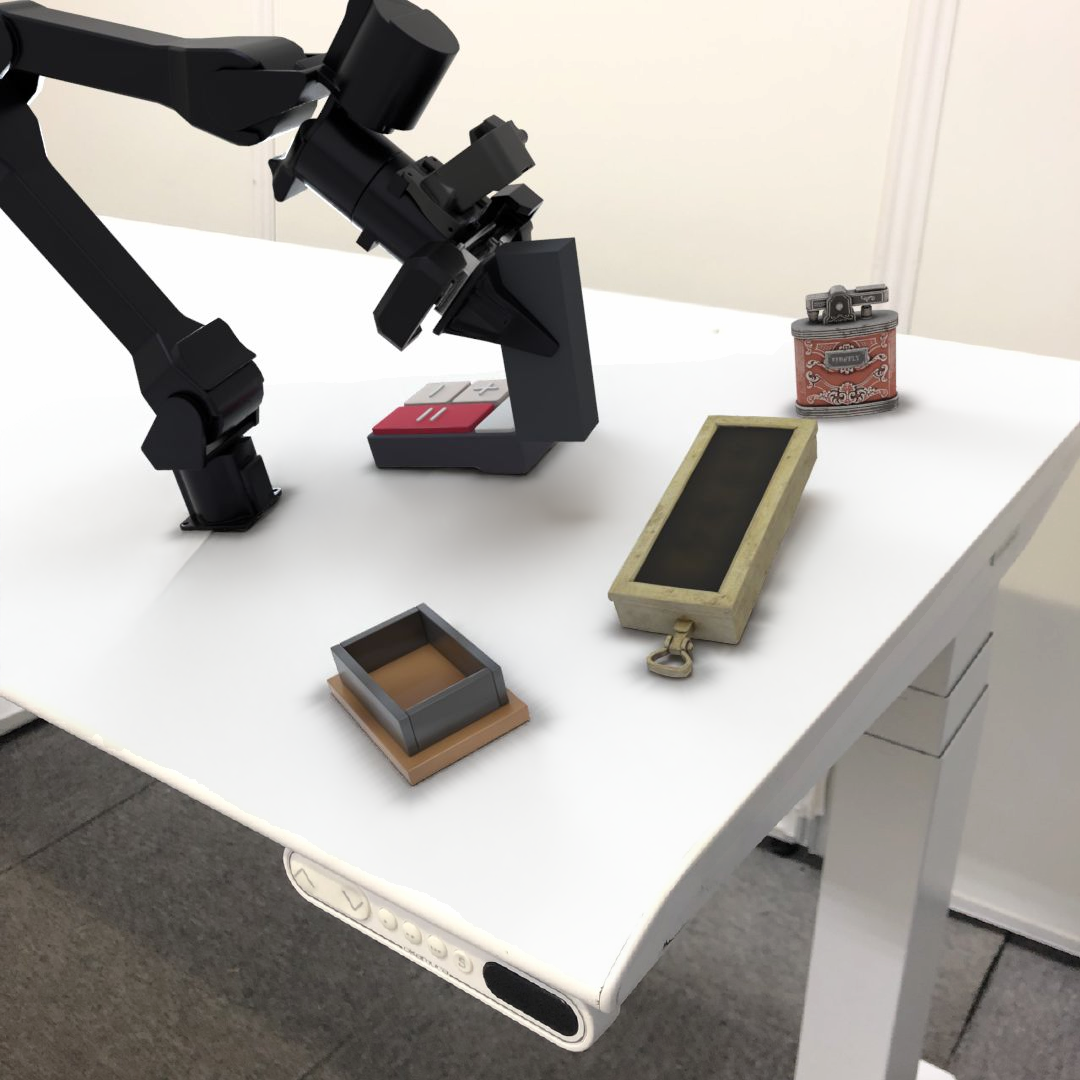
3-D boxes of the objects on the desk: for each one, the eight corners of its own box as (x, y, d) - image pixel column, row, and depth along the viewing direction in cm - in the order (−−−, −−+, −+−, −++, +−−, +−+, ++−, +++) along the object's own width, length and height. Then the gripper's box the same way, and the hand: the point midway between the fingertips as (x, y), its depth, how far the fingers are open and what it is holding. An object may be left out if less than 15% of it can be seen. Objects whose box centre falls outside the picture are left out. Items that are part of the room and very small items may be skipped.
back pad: (516, 442, 72) (484, 255, 66) (533, 422, 75) (504, 242, 69) (584, 442, 70) (557, 250, 64) (599, 422, 73) (575, 237, 67)
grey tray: (330, 692, 62) (314, 645, 61) (437, 638, 65) (425, 592, 64) (412, 786, 54) (396, 735, 52) (531, 719, 57) (519, 668, 55)
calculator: (425, 378, 96) (569, 371, 89) (438, 420, 98) (579, 416, 91) (361, 429, 88) (514, 426, 81) (376, 474, 90) (526, 474, 83)
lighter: (796, 420, 84) (790, 301, 79) (794, 403, 86) (788, 287, 81) (901, 411, 82) (901, 288, 77) (895, 394, 85) (895, 274, 80)
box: (826, 472, 72) (819, 412, 69) (736, 716, 58) (722, 654, 55) (713, 467, 76) (702, 411, 73) (602, 694, 62) (582, 635, 59)
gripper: (372, 112, 55) (597, 299, 57) (492, 61, 70) (667, 210, 72) (288, 267, 62) (492, 431, 64) (414, 190, 77) (576, 325, 78)
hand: (564, 341), depth 69 cm, fingers closed on back pad, 3 cm apart
